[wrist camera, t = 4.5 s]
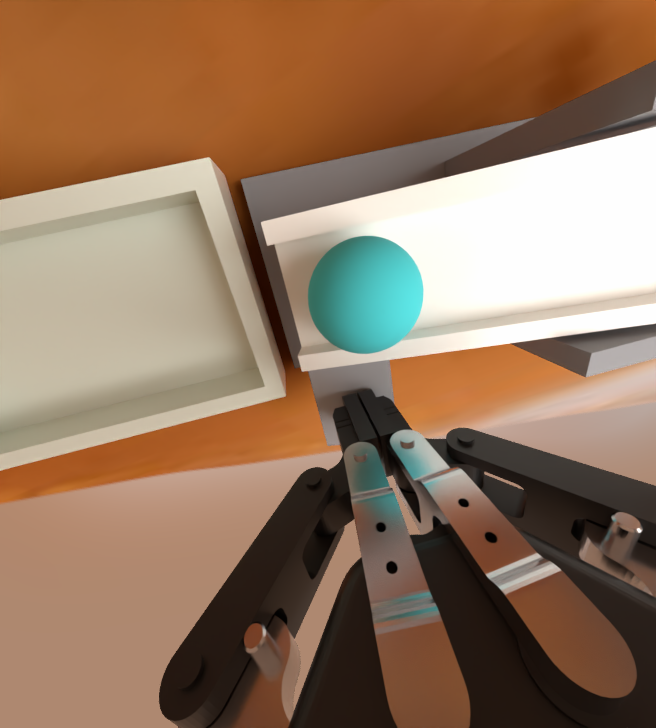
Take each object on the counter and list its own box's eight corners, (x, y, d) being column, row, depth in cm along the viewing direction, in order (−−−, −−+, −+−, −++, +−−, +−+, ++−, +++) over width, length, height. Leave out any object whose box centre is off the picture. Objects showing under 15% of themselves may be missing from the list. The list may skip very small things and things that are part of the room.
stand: (242, 183, 15) (176, 80, 5) (687, 89, 16) (1252, -121, 7) (294, 362, 19) (307, 477, 10) (634, 276, 21) (922, 305, 12)
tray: (-181, 260, 13) (-324, 266, 10) (224, 175, 14) (209, 157, 11) (-3, 444, 18) (-61, 486, 15) (285, 371, 20) (286, 396, 16)
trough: (285, 222, 13) (245, 221, 8) (1041, 43, 9) (1875, -175, 4) (331, 413, 18) (323, 482, 14) (827, 360, 14) (1080, 434, 9)
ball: (410, 229, 6) (426, 219, 10) (271, 257, 8) (324, 241, 11) (419, 376, 8) (430, 326, 11) (303, 373, 10) (340, 331, 13)
